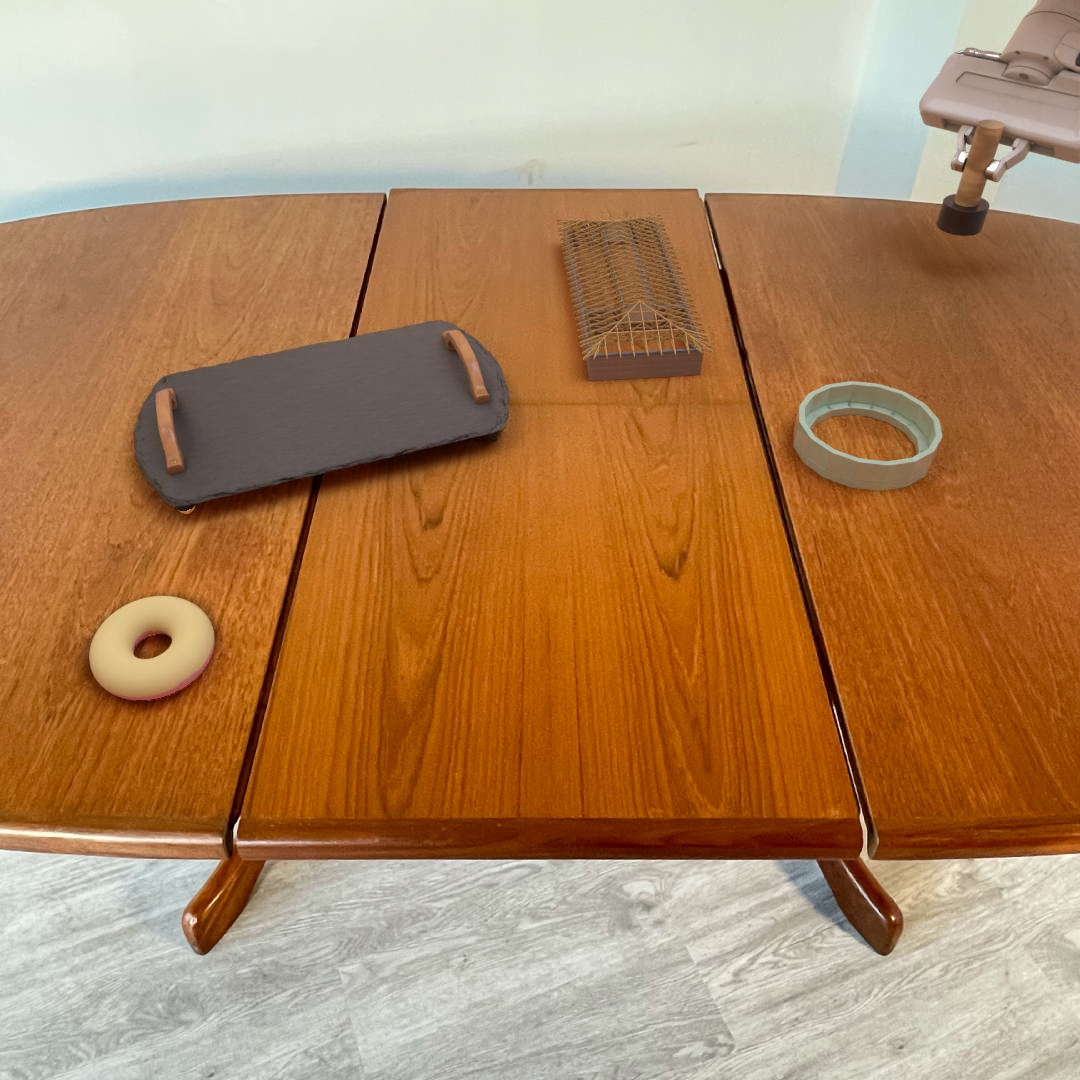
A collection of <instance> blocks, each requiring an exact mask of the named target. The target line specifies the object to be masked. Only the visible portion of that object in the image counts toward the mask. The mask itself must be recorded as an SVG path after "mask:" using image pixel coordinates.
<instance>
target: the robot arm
mask: <svg viewBox="0 0 1080 1080" xmlns="http://www.w3.org/2000/svg"><path fill="white" fill-rule="evenodd" d="M918 110H919V115H920V117H921V120H922V123H923V124H924V125H925V126H928V127H932V128H936V129H940V130H943V131H947V132H948V131H949V132H952V133H956V134H957V142H956V143H957V148H956V149H957V151H956V153H955V154H954V156H953V158H952V160H951V161H950V170H952V171H955V172H958V173H961V174H963V170H964V167H965V164H966V160H967V157H968V154H969V151H967V145H969V146H971V144H972V141H973V138H974V134H975V131H976V128H977V125H978V122H979V121H981V120H996V121H1000V122H1002V123H1004V125H1005V126H1004V130H1003V133H1002V136H1001V139H1000V142H999V145H1002V146H1005V147H1009V148H1011V150H1012V151H1010V152H1009V153H1007V154H1006V155H1005V156H1003V157H1002V158H1001V159H996V158H994V159H993V160H992V161H991V163H990V166H989V167H988V168H987V169H986V171H985V179H987V181H991V182H994V183H999V182H1000V181H1001V180H1002V178H1003V176H1004V175H1005V173H1006V171H1008V170H1010V169H1012V168H1013V167H1014V166H1016V165H1018V164H1020V163H1021V162H1023V161H1024V160H1025V159H1026V158H1027V156H1028V154H1029V153H1033V154H1037V155H1041V156H1044V157H1049V158H1052V159H1056V160H1061V161H1065V162H1069V163H1071V164H1072V163H1073V164H1075V165H1079V164H1080V0H1036V3H1035V4H1034V6H1033V7H1032V8H1031V9H1030V10H1029V11H1028V12H1027V13H1026V14H1025V15H1024V16H1023V18H1022V19H1021V21H1020V23H1019V24H1018V25H1017V28H1016V29H1015V31H1014V32H1013V34H1012V36H1011V37H1010V39H1009V41H1008V43H1007V44H1006V45H1005V48H1004V49H1003V51H1002V52H996V51H992V50H981V49H979V48H976V47H966V48H965V49H962V50H958V51H955V52H953V53H950V55H949V56H948V57H947V58H946V60H945V62H944V63H943V65H942V66H941V70H940V71H939V73H938V74H937V75H936V77H935V78H934V79H933V81H932V82H931V83H930V85H929V87H928V88H927V89H926V90H925V92H924V93H923V95H922V96H921V98H920V100H919V104H918Z"/></svg>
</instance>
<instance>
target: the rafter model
mask: <svg viewBox="0 0 1080 1080" xmlns="http://www.w3.org/2000/svg"><path fill="white" fill-rule="evenodd" d="M660 216H661V214H660V213H657V214H649V215H646V216H644V215H642V214H640V216H639V217H634V216H632V215H629V218H624V217H622V216H620V215H619V216H618V219H614V218H612V217H610V216H608V217H607V219H602V218H600V217H599V216H597V217H596V220H595V219H594V220H593V219H589V218H588V217H586V219H578V218H577V217H575V218H574V219H572V218H563V219H562V218H556V219H555V221H556V222H557V223H556V225H558V226H559V227H558V226H557V230H558V233H559V232H560V233H559V234H558V236H559V237H560V238H559V241H562V242H560V245H561V246H562V247H561V250H563V252H562V255H564V257H563V260H565V262H564V265H566V267H565V270H567V272H566V275H567V276H568V277H567V281H569V282H568V286H570V288H569V292H571V294H570V297H571V298H572V299H571V303H574V305H573V306H572V309H575V311H574V312H573V314H574V315H576V317H575V318H574V320H575V321H577V323H576V327H578V329H576V330H577V333H580V335H578V339H581V341H579V345H580V346H579V347H580V348H581V349H582V350H583V352H581V355H582V356H583V355H584V356H583V358H582V361H585V365H586V370H587V375H588V376H587V377H588V380H589V381H590V382H593V381H612V380H627V379H628V380H630V379H646V378H648V379H649V378H664V377H666V378H667V377H683V376H684V377H685V376H701V373H702V366H703V365H702V364H703V357H704V351H706V352H707V353H711V354H714V351H713V350H712V349H711V348H712V345H711V344H710V343H709V344H708V343H706V342H709V338H708V334H705V333H702V332H705V331H706V329H705V328H701V327H699V326H703V323H702V322H699V320H701V317H700V316H696V314H699V311H698V310H694V308H696V307H697V306H696V305H695V304H692V303H693V302H694V299H693V298H689V297H692V293H689V292H688V291H690V288H689V287H685V286H687V285H688V283H687V282H685V280H686V278H685V276H681V275H683V273H684V272H683V271H681V269H682V267H681V266H678V265H679V264H680V261H677V260H676V259H678V256H675V254H676V251H673V249H674V247H673V246H670V245H672V242H671V241H670V237H668V232H667V229H666V228H665V223H664V221H661V220H662V217H660ZM665 231H666V232H665ZM668 240H669V241H668ZM563 246H564V247H563ZM575 246H578V247H575ZM637 247H638V248H637ZM610 248H612V249H610ZM621 248H626V249H621ZM576 250H578V251H576ZM564 251H565V252H564ZM639 252H640V253H639ZM611 253H613V254H611ZM623 253H628V254H623ZM577 255H580V256H577ZM640 257H641V258H640ZM613 258H615V259H613ZM625 258H628V259H625ZM578 260H581V261H578ZM601 263H602V264H601ZM614 263H618V264H616V265H614ZM627 263H628V264H627ZM580 265H582V266H580ZM603 268H604V269H603ZM616 268H617V269H618V270H615V269H616ZM619 268H621V269H619ZM581 270H583V271H581ZM599 270H600V271H599ZM617 274H620V275H617ZM581 276H584V277H581ZM605 279H606V280H605ZM619 279H623V280H619ZM683 280H684V281H683ZM582 281H586V282H582ZM606 284H607V285H608V286H607V285H606ZM620 285H624V286H620ZM603 286H604V287H603ZM583 287H585V288H583ZM655 287H657V288H655ZM608 290H609V291H608ZM624 290H625V291H624ZM627 290H629V291H627ZM686 291H687V292H686ZM585 292H589V293H585ZM657 293H658V294H657ZM610 296H611V297H610ZM626 296H628V297H626ZM586 298H591V299H586ZM658 298H659V299H660V300H659V299H658ZM610 301H611V302H613V303H611V302H610ZM625 302H627V303H625ZM628 302H630V303H628ZM589 303H590V304H591V305H587V304H589ZM692 308H693V309H692ZM661 334H662V335H661ZM668 334H669V336H668V337H665V336H666V335H668ZM641 335H642V336H643V338H637V337H639V336H641ZM647 335H648V336H650V338H647ZM655 335H656V336H655ZM677 335H678V336H677ZM614 337H616V338H614ZM619 337H621V338H622V339H620V338H619ZM610 339H612V340H610ZM675 340H679V341H681V342H684V345H685V348H677V349H676V345H675ZM652 341H653V342H654V341H656V343H657V346H658V350H649V348H648V342H652ZM661 341H670V344H671V347H672V349H662V343H661ZM634 342H643V345H644V349H645V350H641V351H640V350H639V351H635V347H634ZM612 343H613V344H614V343H616V346H617V349H618V352H608V351H607V345H608V344H612ZM620 343H629V344H630V347H631V350H632V351H623V352H622V351H621V345H620ZM603 348H604V349H603ZM601 349H603V350H604V353H600V351H601Z"/></svg>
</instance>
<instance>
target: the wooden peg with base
mask: <svg viewBox="0 0 1080 1080" xmlns="http://www.w3.org/2000/svg"><path fill="white" fill-rule="evenodd" d="M1004 126H1005V125H1004V123H1002V122H1000V121H996V120H981V121H979V122H978V125H977V128H976V131H975V134H974V138H973V141H972V144H971V145H970V148H969V151H968V152H969V154H968V157H967V160H966V164H965V167H964V170H963V173H961V177H960V180H959V183H958V186H957V190H956V192H955V193H953V194H949V195H947V196H945V197H944V198H943V200H942V203H941V207H940V210H939V213H938V217H937V220H936V227H937V228H938V229H939V230H940V231H941V232H943V233H946V234H949V235H953V236H957V237H959V236H960V237H971V236H974V235H978V234H980V233H981V232H982V230H983V227H984V224H985V221H986V218H987V216H988V212H989V210H990V207H991V206H990V203H989V201H988V200H986V199H985V198H983V197H982V196H983V193H984V190H985V187H986V185H987V181H988V180H987V179H985V171H986V169H987V168H988V167H989V166H990V163H991V161H992V160H993V159H995V156H996V154H997V151H998V148H999V145H1000V144H999V142H1000V139H1001V136H1002V133H1003V130H1004Z"/></svg>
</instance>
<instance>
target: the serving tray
mask: <svg viewBox="0 0 1080 1080" xmlns="http://www.w3.org/2000/svg"><path fill="white" fill-rule="evenodd" d="M506 382H507V381H506V378H505V374H504V371H503V369H502V367H501V365H500V363H499V362H498V360H497V358H496V357H495V356H494V355H493V353H492V352H491V351H489V350H488V349H486V348H485V347H484V345H483V344H482V343H481V342H480V341H479V340H478V339H477V338H476V337H475V336H473V335H471V334H470V333H468V332H466V331H465V329H462V328H460V327H458V326H457V324H454V323H451V322H448V321H446V320H442V319H439V320H428V321H425V322H419V323H415V324H408V325H404V326H400V327H395V328H388V329H384V330H383V329H382V330H379V331H371V332H367V333H362V334H359V335H355V336H352V337H347V338H344V339H338V340H332V341H323V342H317V343H313V344H306V345H302V346H301V345H300V346H299V347H294V348H289V349H288V348H287V349H284V350H281V351H276V352H272V353H264V354H261V355H251V356H248V357H245V358H240V359H237V360H233V361H230V362H222V363H218V364H215V365H208V366H201V367H197V368H193V369H187V370H184V371H177V372H173V373H170V374H168V375H164V376H162V377H161V378H160V379H159V380H158V381H157V382H155V384H154V385H153V386H152V390H151V392H150V393H149V394H148V396H147V397H146V399H145V400H144V402H143V404H142V406H141V409H140V411H139V413H138V417H137V422H136V425H135V427H134V429H133V433H132V434H133V447H134V459H135V462H137V464H138V469H139V470H140V472H141V474H142V476H143V477H144V479H145V480H146V483H147V485H149V486H150V487H151V488H153V489H154V491H156V493H157V494H158V495H159V497H160V498H161V500H163V502H165V503H166V504H168V505H169V506H170V507H173V508H174V510H176V511H177V510H179V511H187V510H189V509H192V508H193V507H194V506H195V505H196V506H197V504H199V503H200V504H201V503H205V502H208V501H212V500H217V499H220V498H221V499H222V498H225V497H231V496H232V497H233V496H235V495H238V494H243V493H247V492H250V491H256V490H258V489H262V488H266V487H275V486H278V485H280V484H285V483H288V482H291V481H297V480H298V481H299V480H301V479H305V478H309V477H314V476H315V477H316V476H319V475H322V474H326V473H330V472H334V471H338V470H344V469H345V470H346V469H348V468H351V467H354V466H358V465H359V466H361V465H366V464H369V463H373V462H377V461H380V460H387V459H391V458H394V457H398V456H402V455H407V454H410V453H416V452H420V451H422V450H428V449H432V448H435V447H440V446H444V445H445V446H446V445H449V444H452V443H457V442H460V441H465V440H469V439H473V438H478V437H483V438H484V439H485V440H486V441H487V442H496V441H497V440H498V439H499V437H500V435H501V433H502V430H503V429H505V427H506V425H507V422H508V419H509V414H510V407H509V404H510V401H511V399H510V389H509V386H508V385H507V384H506ZM196 503H197V504H196ZM179 511H178V512H179Z"/></svg>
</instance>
